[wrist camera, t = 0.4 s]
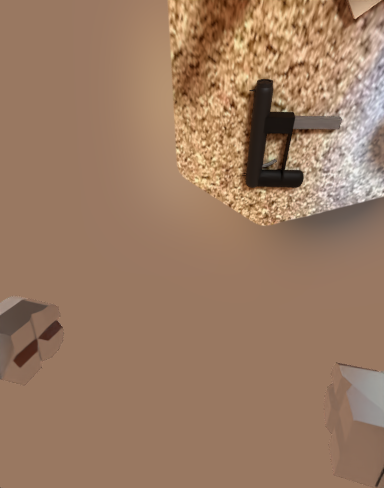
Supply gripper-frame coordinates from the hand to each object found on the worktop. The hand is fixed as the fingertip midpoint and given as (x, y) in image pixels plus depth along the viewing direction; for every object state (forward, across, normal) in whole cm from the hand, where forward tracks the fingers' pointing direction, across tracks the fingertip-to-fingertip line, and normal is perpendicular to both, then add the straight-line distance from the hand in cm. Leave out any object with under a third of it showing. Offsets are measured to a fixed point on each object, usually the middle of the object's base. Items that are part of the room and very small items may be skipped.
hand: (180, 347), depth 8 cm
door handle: (+54, -4, -3) cm, 55 cm away
